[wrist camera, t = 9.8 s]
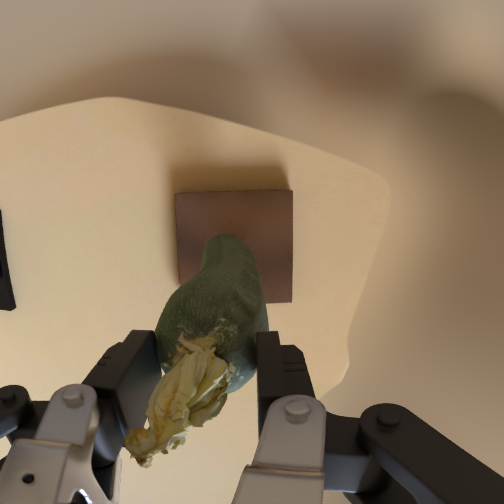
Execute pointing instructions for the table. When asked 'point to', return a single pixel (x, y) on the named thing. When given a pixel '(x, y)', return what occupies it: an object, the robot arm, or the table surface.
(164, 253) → the table surface
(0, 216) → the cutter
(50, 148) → the table surface
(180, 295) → the vegetable
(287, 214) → the board
